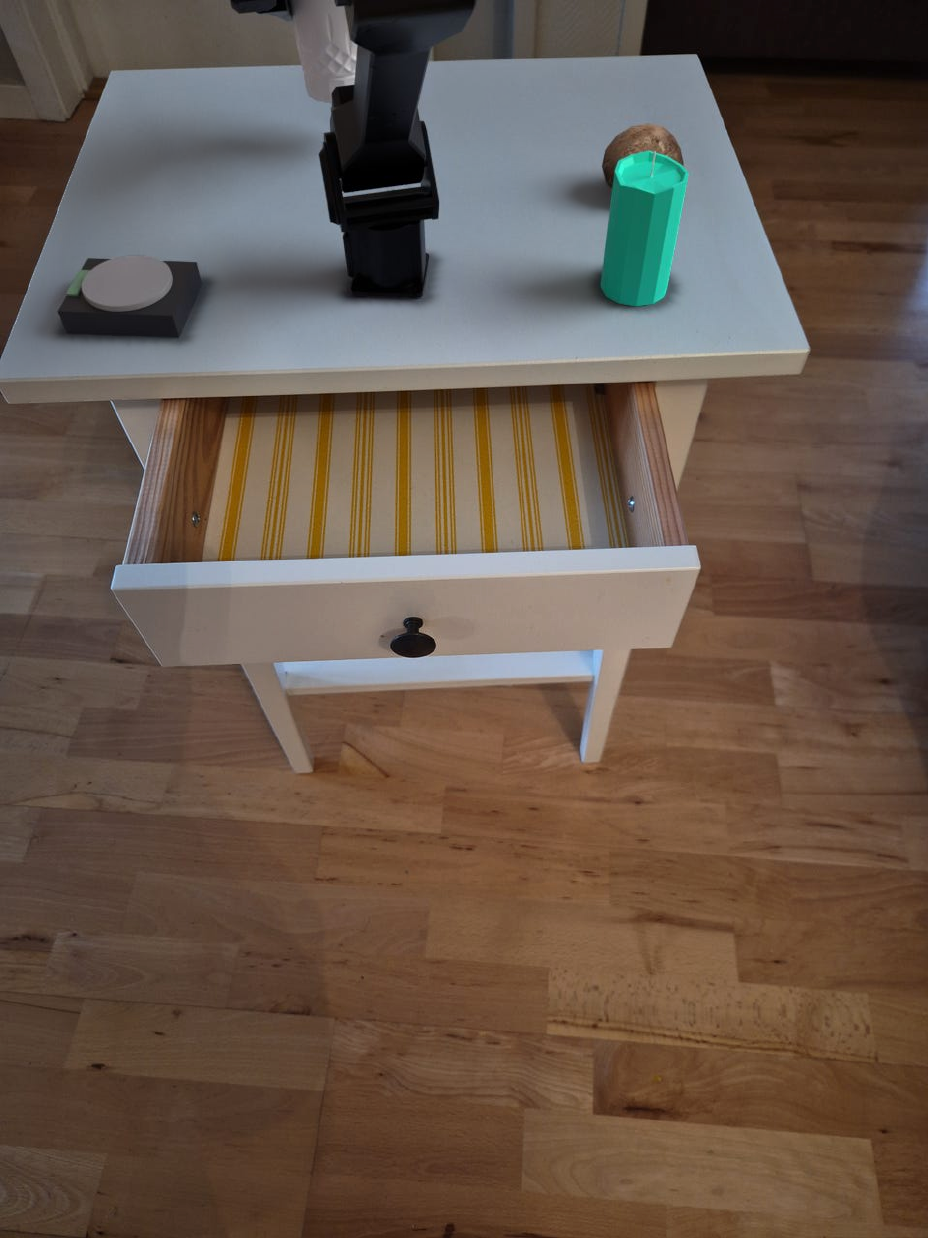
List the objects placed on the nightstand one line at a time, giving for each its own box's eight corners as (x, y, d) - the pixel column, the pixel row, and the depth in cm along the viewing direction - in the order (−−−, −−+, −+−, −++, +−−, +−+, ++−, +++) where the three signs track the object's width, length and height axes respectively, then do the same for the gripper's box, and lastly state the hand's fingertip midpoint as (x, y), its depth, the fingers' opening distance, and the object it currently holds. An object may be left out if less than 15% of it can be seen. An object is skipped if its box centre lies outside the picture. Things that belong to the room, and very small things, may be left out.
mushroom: (607, 130, 92) (631, 94, 86) (675, 167, 93) (704, 134, 87) (580, 200, 91) (602, 169, 85) (649, 236, 92) (676, 207, 86)
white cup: (386, 100, 91) (377, -16, 83) (308, 112, 89) (292, -6, 81) (368, 69, 95) (358, -44, 87) (294, 79, 94) (277, -35, 86)
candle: (598, 266, 83) (614, 133, 73) (664, 267, 83) (688, 133, 73) (602, 306, 80) (619, 170, 70) (670, 306, 79) (697, 171, 70)
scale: (202, 283, 82) (195, 255, 80) (179, 337, 78) (170, 309, 75) (95, 279, 83) (85, 251, 81) (66, 333, 78) (53, 304, 76)
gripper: (426, -216, 73) (407, -89, 88) (192, -198, 70) (213, -70, 85) (452, -66, 74) (428, 33, 90) (223, -43, 72) (239, 55, 87)
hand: (329, 10), depth 88 cm, fingers closed on white cup, 7 cm apart
